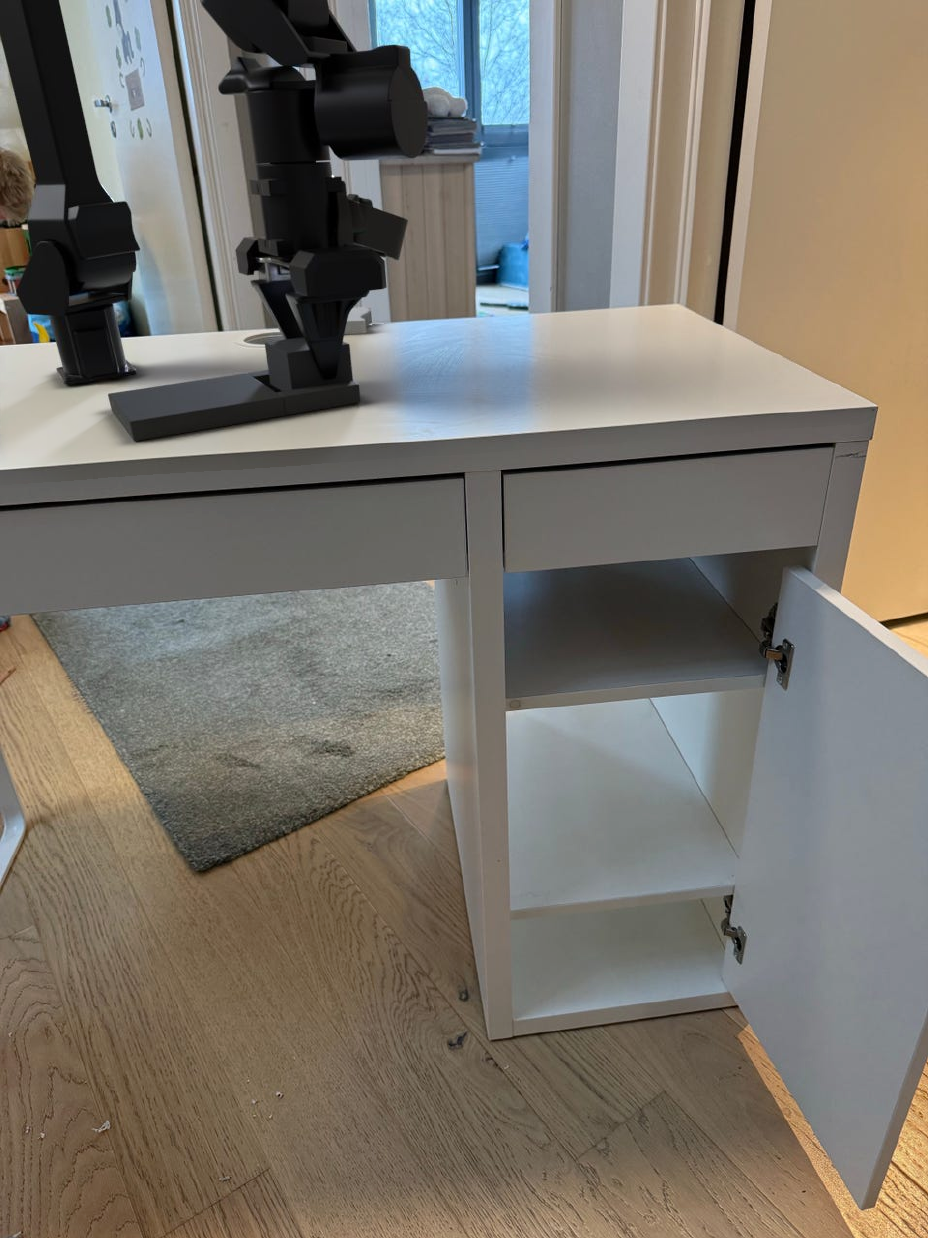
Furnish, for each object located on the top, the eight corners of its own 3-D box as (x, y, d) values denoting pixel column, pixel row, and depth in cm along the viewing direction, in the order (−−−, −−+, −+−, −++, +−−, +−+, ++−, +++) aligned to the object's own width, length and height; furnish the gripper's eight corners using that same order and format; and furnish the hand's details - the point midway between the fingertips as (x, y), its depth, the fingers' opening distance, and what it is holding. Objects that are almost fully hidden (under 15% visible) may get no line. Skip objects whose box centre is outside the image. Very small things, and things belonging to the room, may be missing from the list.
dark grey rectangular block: (270, 384, 73) (264, 342, 72) (328, 374, 76) (324, 333, 74) (292, 397, 69) (286, 352, 68) (353, 386, 72) (349, 343, 70)
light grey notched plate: (366, 333, 96) (374, 317, 105) (365, 320, 96) (373, 305, 104) (315, 335, 96) (327, 319, 105) (314, 322, 96) (326, 307, 104)
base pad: (111, 411, 71) (107, 393, 70) (318, 379, 78) (316, 362, 77) (134, 441, 63) (129, 421, 62) (361, 402, 70) (359, 384, 69)
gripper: (444, 157, 61) (453, 379, 68) (346, 159, 75) (362, 342, 83) (294, 164, 56) (322, 401, 64) (220, 164, 71) (250, 358, 78)
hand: (317, 372), depth 72 cm, fingers closed on dark grey rectangular block, 5 cm apart
